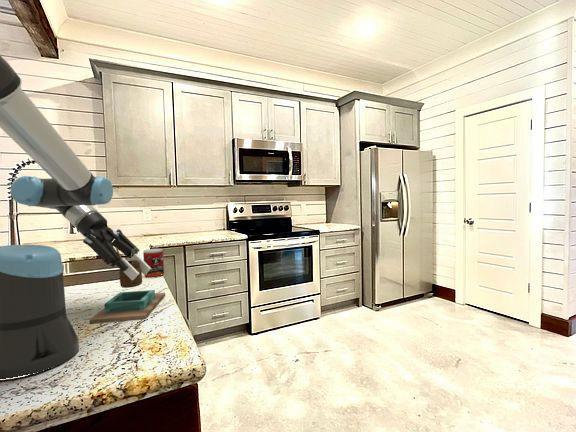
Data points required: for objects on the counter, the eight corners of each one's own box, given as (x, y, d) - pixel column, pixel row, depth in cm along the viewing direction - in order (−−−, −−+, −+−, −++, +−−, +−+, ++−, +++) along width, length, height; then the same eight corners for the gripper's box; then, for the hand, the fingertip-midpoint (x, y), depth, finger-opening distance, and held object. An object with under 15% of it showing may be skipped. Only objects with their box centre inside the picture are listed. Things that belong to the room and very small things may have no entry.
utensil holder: (145, 284, 92) (142, 245, 91) (122, 290, 88) (118, 248, 87) (139, 280, 96) (135, 243, 95) (116, 285, 92) (113, 246, 91)
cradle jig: (145, 318, 83) (144, 306, 83) (89, 323, 81) (88, 310, 81) (165, 295, 103) (164, 285, 102) (120, 298, 101) (120, 288, 101)
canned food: (147, 279, 125) (145, 252, 125) (142, 275, 132) (141, 250, 131) (166, 275, 130) (165, 250, 129) (161, 272, 136) (160, 247, 136)
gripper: (102, 225, 102) (151, 274, 101) (53, 233, 84) (113, 292, 83) (115, 209, 101) (165, 258, 100) (69, 213, 83) (130, 273, 82)
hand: (141, 274), depth 91 cm, fingers closed on utensil holder, 5 cm apart
